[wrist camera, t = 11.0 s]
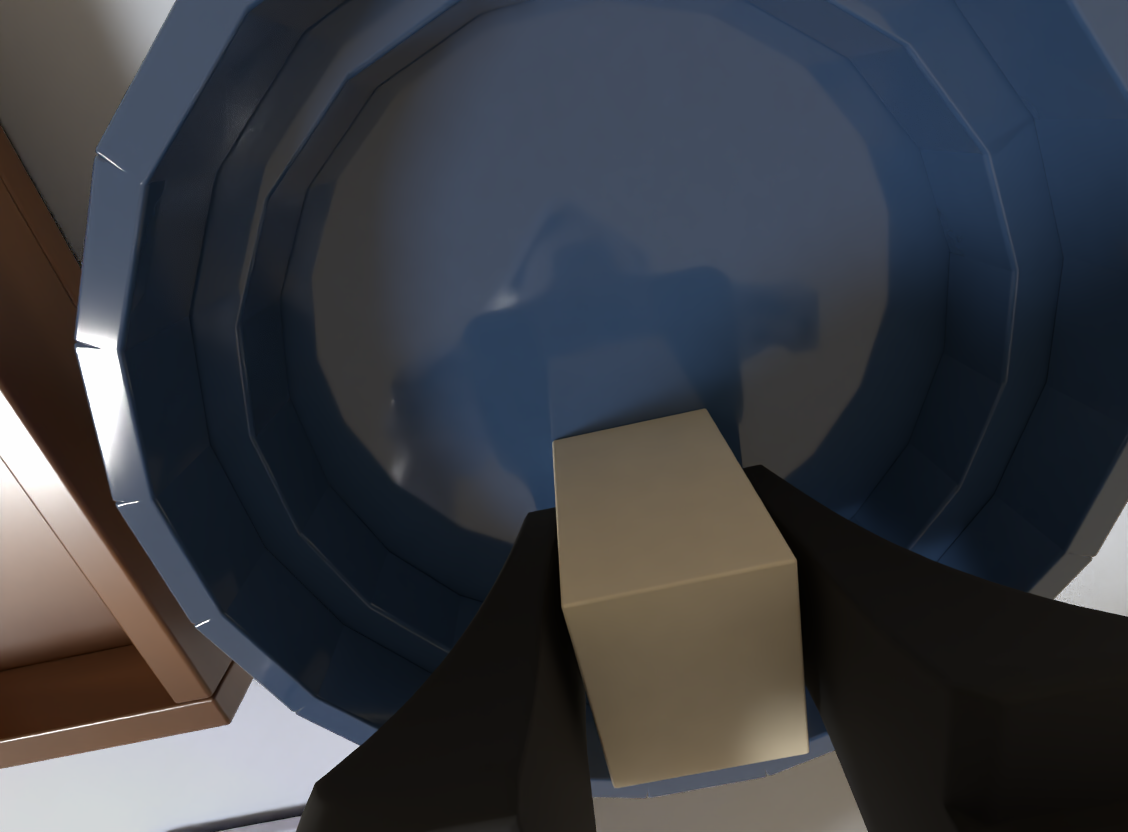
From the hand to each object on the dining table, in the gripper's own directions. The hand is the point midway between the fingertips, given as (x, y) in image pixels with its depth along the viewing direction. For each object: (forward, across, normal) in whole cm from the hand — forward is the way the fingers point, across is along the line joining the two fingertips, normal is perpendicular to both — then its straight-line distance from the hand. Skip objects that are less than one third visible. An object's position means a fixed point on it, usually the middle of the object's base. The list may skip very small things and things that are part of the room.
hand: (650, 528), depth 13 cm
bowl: (+1, 0, -3) cm, 3 cm away
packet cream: (+1, 0, 0) cm, 1 cm away
